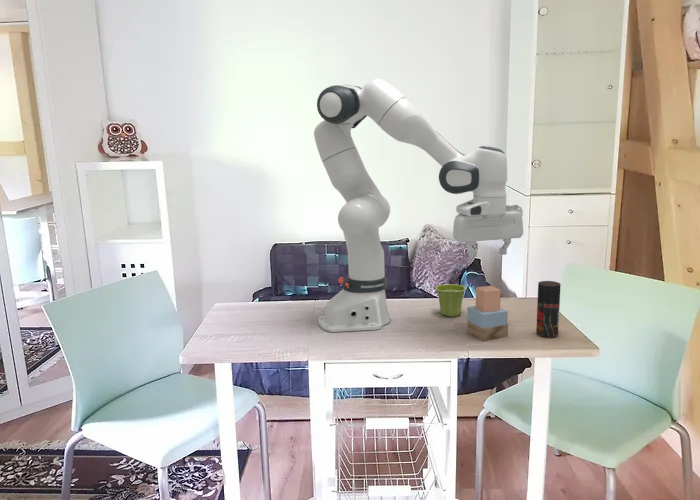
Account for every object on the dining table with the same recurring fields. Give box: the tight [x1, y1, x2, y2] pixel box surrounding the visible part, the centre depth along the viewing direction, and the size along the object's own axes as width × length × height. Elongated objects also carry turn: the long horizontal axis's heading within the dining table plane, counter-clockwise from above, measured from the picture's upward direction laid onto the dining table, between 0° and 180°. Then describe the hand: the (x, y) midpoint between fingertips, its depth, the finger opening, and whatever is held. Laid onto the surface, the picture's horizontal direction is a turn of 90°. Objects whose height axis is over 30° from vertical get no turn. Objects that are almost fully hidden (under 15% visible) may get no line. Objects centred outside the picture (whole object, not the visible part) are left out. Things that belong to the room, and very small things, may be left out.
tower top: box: [466, 305, 509, 329], centre depth 167 cm, size 8×8×4 cm
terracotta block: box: [475, 285, 502, 312], centre depth 166 cm, size 5×5×6 cm
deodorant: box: [535, 280, 561, 339], centre depth 166 cm, size 6×6×15 cm
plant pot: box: [435, 283, 467, 317], centre depth 187 cm, size 9×9×9 cm
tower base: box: [467, 320, 509, 342], centre depth 168 cm, size 8×8×4 cm
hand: (487, 255), depth 164 cm, fingers open, 8 cm apart
